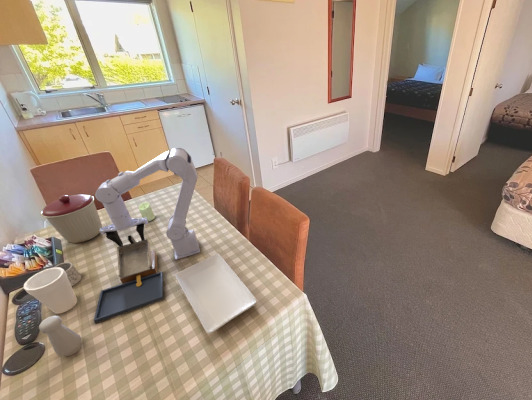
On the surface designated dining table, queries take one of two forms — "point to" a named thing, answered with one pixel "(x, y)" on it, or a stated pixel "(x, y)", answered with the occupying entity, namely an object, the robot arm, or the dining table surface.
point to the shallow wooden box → (146, 273)
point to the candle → (146, 211)
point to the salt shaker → (61, 336)
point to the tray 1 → (129, 297)
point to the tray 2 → (214, 292)
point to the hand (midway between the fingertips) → (132, 243)
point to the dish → (134, 258)
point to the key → (138, 281)
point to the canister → (74, 217)
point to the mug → (70, 272)
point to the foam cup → (52, 289)
